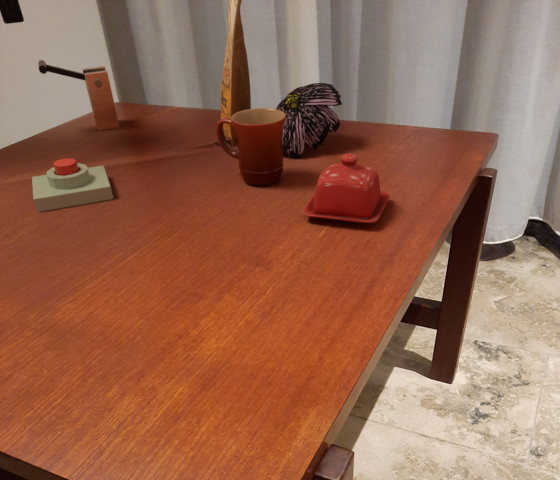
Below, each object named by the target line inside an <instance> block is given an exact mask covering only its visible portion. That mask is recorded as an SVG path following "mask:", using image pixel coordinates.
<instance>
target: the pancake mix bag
mask: <svg viewBox="0 0 560 480" xmlns="http://www.w3.org/2000/svg"><path fill="white" fill-rule="evenodd" d="M228 3H229V4H228V5H229V8H228V35H227V39H226V40H227V41H226V47H225V54H224V62H223V70H222V78H221V88H220V89H221V90H220V119H222V118H224V117H231V116H232V115H233V114H235V113H237V112H239V111H243V110H247V109H252V99H251V98H252V97H251V95H252V93H251V79H250V70H249V69H250V68H249V60H248V54H247V48H246V43H245V35H244V34H245V33H244V26H243V22H242V15H241V5H242V0H228ZM223 130H224V135H225V138H226V137H227V138H230V139H226V141H227V143H228V145H231V147H233V146H238V140H237V135H236V132H235V129H234V128H233V127H232V126H231V125H229V124H226V123H224V124H223Z"/></svg>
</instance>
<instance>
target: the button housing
mask: <svg viewBox="0 0 560 480" xmlns="http://www.w3.org/2000/svg"><path fill="white" fill-rule="evenodd" d="M77 166H78V169H79V171H78V172H77V173H74V174H72V175H66V176H61V175H56V172H55V168H54V166H53V167H50V169H48V170H47V171H46V174H41V175H34V176H31V184H32V199H33V203H34V205H35V209H36V211H37V213H42V212H47V211H51V210H52V211H53V210H58V209H63V208H69V207H75V206H81V205H86V204H91V203H98V202H103V201H110V200H114V194H113V191H112V186H111V184H110V180H109V178H108V177H109V176H108V174H107V171H106V168H105V165H97V166H92V167H91V166H90V167H88V165H86V164H84V163H80V162H78V163H77Z"/></svg>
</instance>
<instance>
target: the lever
mask: <svg viewBox="0 0 560 480" xmlns="http://www.w3.org/2000/svg"><path fill="white" fill-rule="evenodd" d="M37 66H38V71H39V73H40V74H42V75H45V74H47V72H48V73H53V74H56V75H60V76H65V77H69V78H73V79H76V80H81V81H84V82H85V81H86V80H85V76H84V74H83V72H78V71H75V70H70V69H67V68H63V67H58V66H54V65H50V64H47V63H46V61H45V60H43V59H39V61H38V62H37ZM90 72H93V71H90Z"/></svg>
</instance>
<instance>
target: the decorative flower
mask: <svg viewBox="0 0 560 480" xmlns="http://www.w3.org/2000/svg"><path fill="white" fill-rule="evenodd" d="M341 96H342V95H341V94H340V93H339V91H338V90H337V89H336V88H335V87H334V85H333V84H330V83H327V82H314V83H309V84H306V85H303V86H299V87H296V88H294V89H292V90H291V91H289V92H288V93H287V95H286V97H285V98H283V99H282V100H281V101H280V102H279V103H278V105H277V106H276V108H275V109H277V110H280V111H282V112H284V113H285V114H286V119H285V122H284V127H283V132H282V148H283V153H284V152H285V154H287V155H288V156H289V157H288V158H289V159H295V160H296V159H299V160H300V159H302V158H303V156H304V154H305V150H306V146H308V147H309V148H310V149H311V150H313V151H314V152H316V151H317V148H318V147H319V146H320V147H321V146H323V143H324V142H326V138H327V137H328V136H329V133H332V132H334V133H337V132H338V130H339V128H340V126H341V121H340V119H339V116H338V115H337V113H336V112H335V111H334V110H333V109H332V108H331V107H337V106H342V105H343V103H342V100H341Z"/></svg>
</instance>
